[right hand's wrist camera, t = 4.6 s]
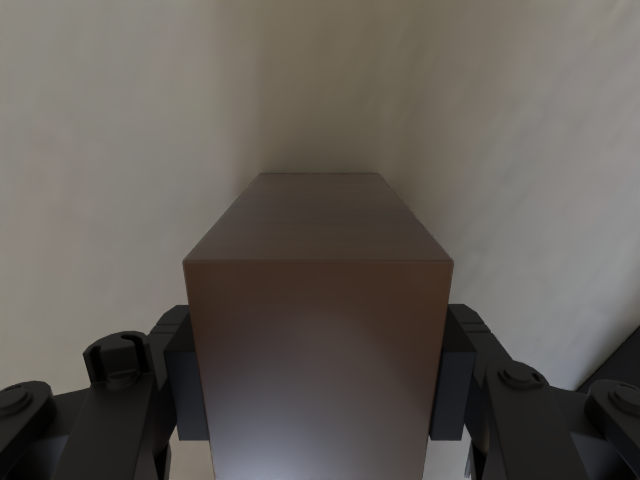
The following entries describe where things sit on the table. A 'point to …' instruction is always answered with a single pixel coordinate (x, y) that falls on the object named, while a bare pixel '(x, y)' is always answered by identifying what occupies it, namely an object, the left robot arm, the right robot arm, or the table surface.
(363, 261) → the walnut plank
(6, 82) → the table surface
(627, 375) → the charcoal rubber block
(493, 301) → the table surface
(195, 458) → the table surface
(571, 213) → the table surface
